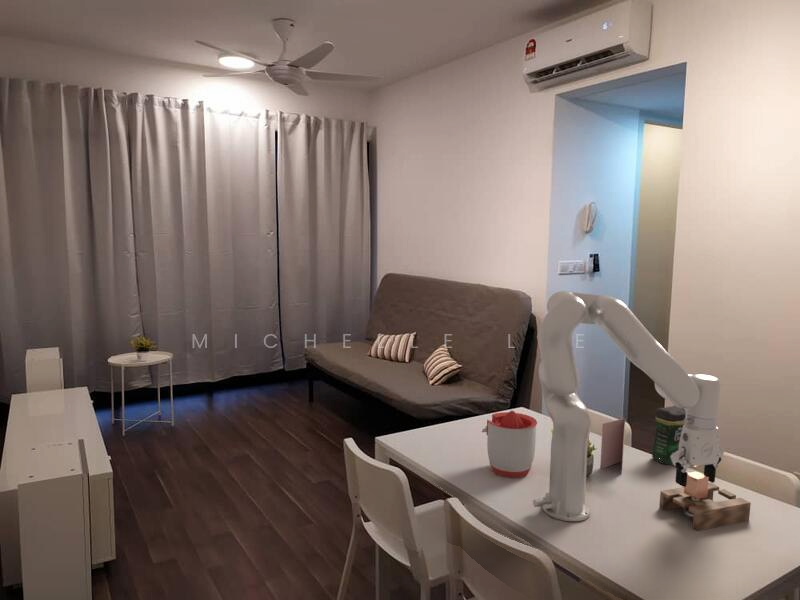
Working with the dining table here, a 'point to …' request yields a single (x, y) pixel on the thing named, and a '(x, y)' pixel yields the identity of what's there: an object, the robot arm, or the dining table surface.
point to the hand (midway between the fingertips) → (694, 482)
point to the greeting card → (612, 442)
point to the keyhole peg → (695, 489)
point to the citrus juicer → (511, 443)
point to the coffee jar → (668, 432)
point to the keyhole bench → (708, 507)
